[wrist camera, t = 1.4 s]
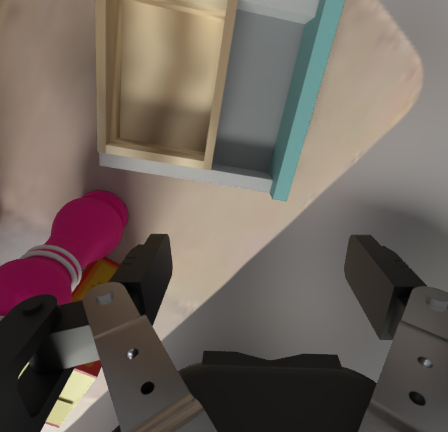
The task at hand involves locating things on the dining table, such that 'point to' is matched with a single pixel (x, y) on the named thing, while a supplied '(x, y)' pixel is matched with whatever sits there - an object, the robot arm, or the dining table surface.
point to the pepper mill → (65, 250)
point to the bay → (262, 96)
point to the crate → (161, 77)
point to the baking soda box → (89, 371)
